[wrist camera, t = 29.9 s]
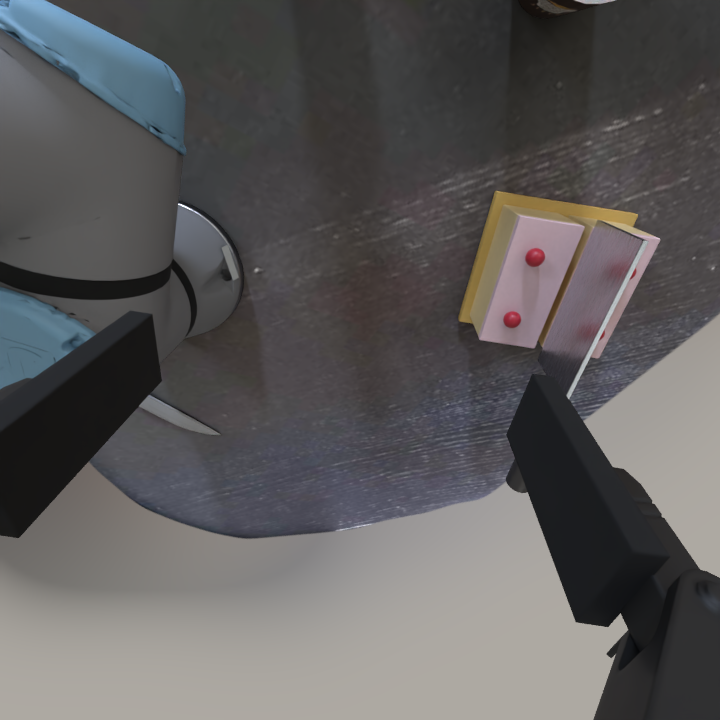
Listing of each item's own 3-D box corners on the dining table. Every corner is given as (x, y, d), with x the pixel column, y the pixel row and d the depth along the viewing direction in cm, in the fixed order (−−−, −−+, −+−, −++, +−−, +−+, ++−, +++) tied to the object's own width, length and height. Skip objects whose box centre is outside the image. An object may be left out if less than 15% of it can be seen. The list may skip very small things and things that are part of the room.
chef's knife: (213, 444, 60) (222, 433, 58) (210, 450, 59) (219, 439, 57) (89, 376, 55) (95, 362, 53) (83, 381, 54) (89, 367, 52)
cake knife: (513, 444, 45) (533, 494, 39) (493, 441, 45) (509, 491, 39) (613, 222, 33) (665, 244, 27) (585, 217, 33) (630, 238, 27)
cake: (575, 336, 47) (610, 377, 39) (457, 318, 47) (470, 355, 39) (633, 212, 40) (690, 233, 32) (494, 190, 40) (519, 205, 32)
